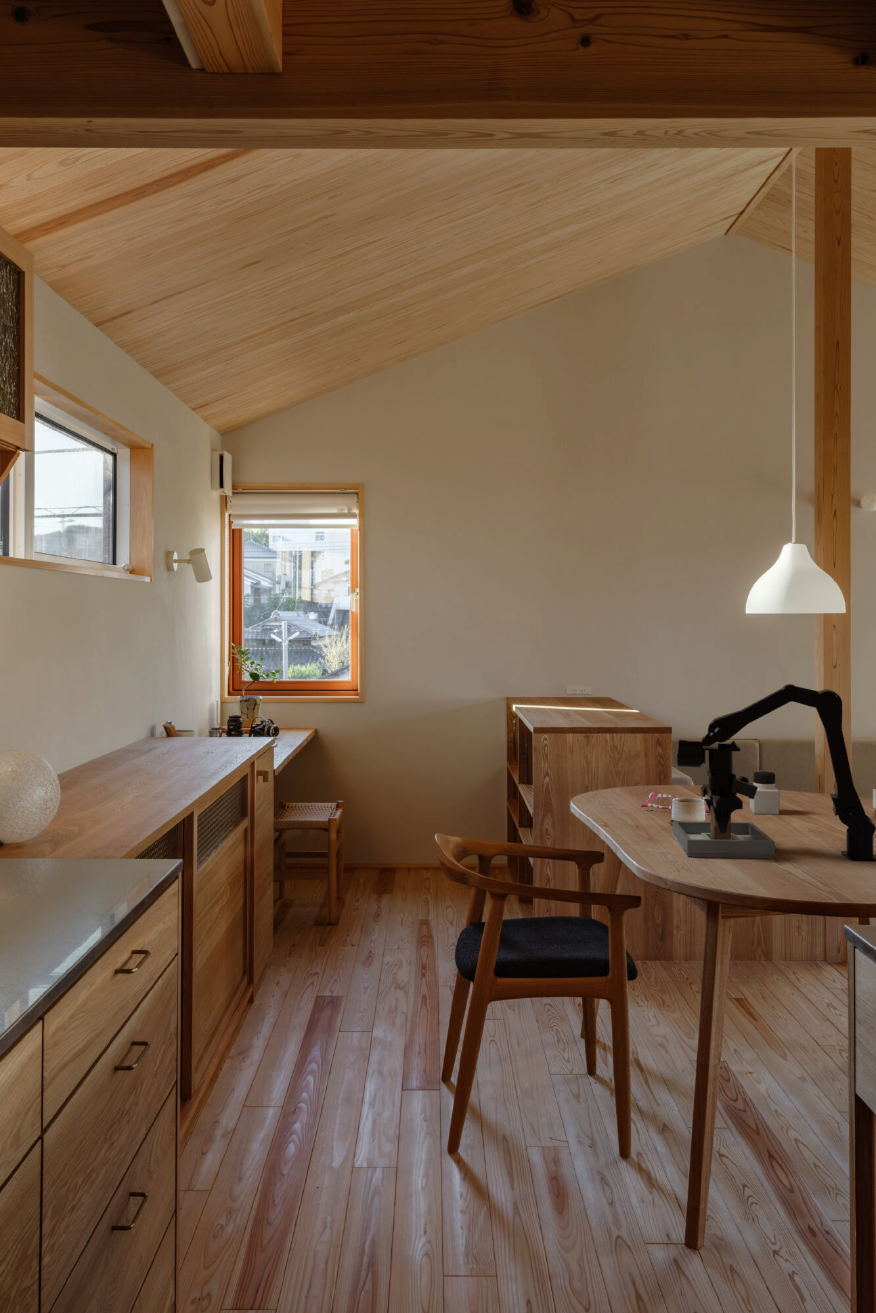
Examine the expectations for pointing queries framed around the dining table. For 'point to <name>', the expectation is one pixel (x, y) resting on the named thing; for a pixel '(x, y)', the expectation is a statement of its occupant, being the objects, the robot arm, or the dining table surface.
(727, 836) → the peg
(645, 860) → the dining table surface
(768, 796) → the medicine bottle
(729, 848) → the walled box
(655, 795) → the dish towel
